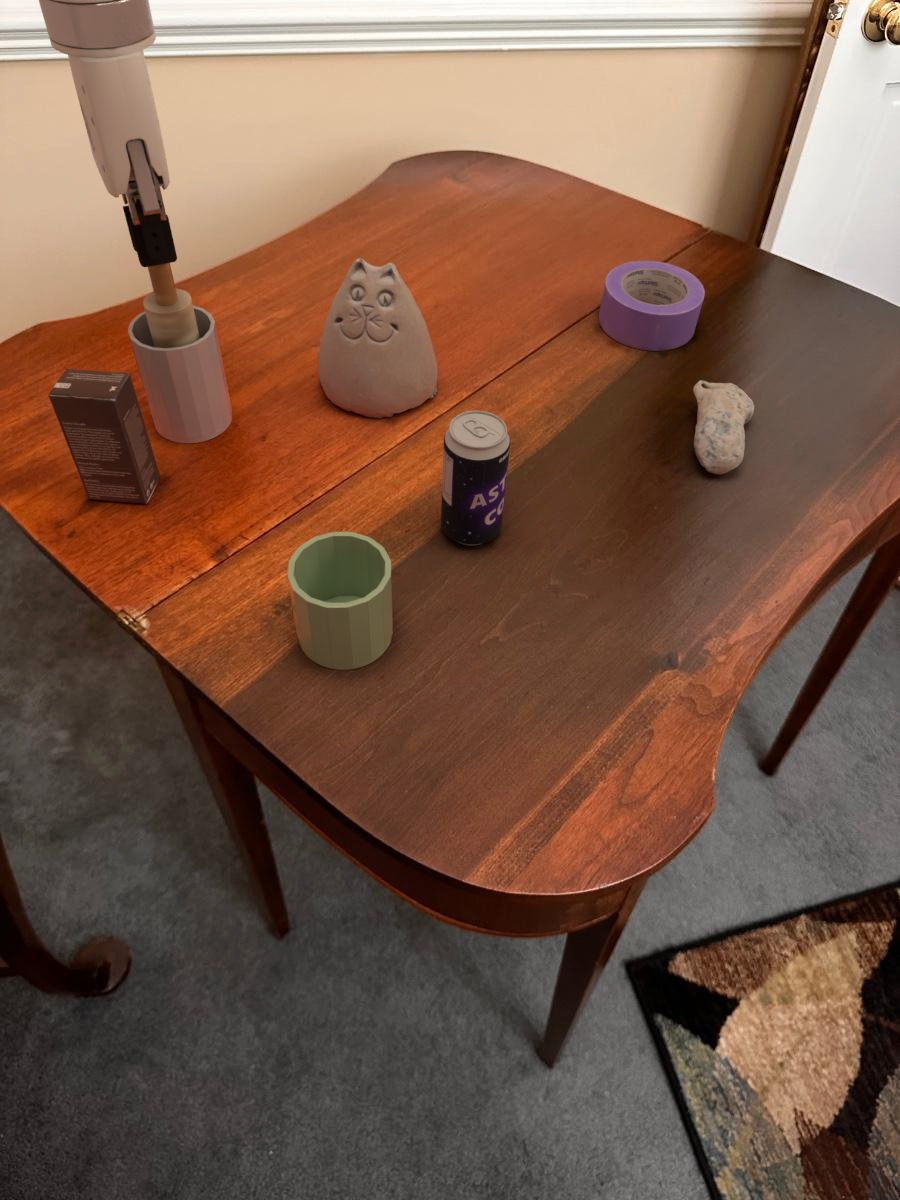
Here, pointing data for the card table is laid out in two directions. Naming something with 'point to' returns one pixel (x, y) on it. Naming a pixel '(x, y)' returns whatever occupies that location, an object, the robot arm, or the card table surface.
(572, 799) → the card table surface
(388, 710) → the card table surface
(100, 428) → the box
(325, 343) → the sculpture
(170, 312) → the bottle brush
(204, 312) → the steel cup
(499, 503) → the beverage can
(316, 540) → the brush holder
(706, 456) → the decorative stone
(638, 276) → the tape roll
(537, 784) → the card table surface
